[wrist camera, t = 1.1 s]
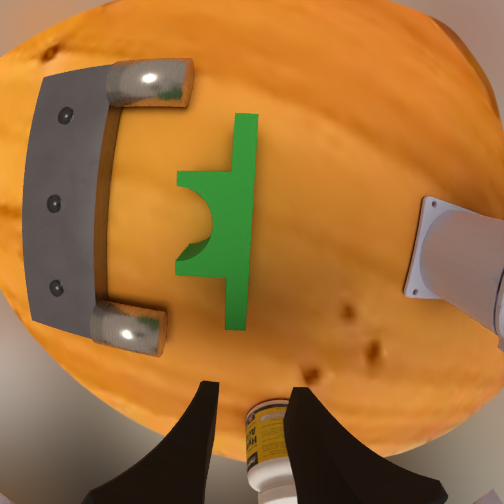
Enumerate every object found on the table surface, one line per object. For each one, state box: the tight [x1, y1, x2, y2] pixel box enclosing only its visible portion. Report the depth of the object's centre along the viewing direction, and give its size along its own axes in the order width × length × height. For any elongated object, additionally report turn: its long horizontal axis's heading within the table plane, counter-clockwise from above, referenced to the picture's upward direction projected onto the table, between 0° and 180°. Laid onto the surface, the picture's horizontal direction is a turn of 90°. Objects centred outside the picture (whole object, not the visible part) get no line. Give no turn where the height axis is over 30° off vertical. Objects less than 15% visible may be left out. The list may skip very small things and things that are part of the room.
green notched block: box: [175, 113, 258, 331], centre depth 15 cm, size 11×4×5 cm, turn 177°
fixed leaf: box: [22, 58, 194, 357], centre depth 15 cm, size 12×19×3 cm, turn 172°
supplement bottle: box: [246, 400, 298, 504], centre depth 17 cm, size 5×5×10 cm
